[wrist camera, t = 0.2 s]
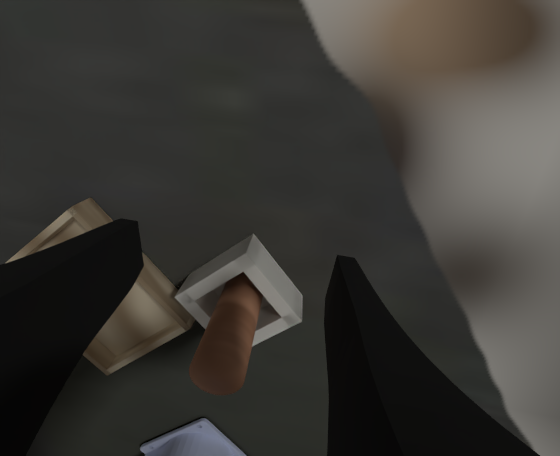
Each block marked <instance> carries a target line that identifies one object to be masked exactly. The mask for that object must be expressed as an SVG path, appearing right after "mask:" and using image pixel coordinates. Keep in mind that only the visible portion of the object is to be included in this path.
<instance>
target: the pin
mask: <svg viewBox="0 0 560 456" xmlns="http://www.w3.org/2000/svg"><path fill="white" fill-rule="evenodd" d="M262 298H263V294H262V293H261V292H260V291H259V290H258V289H257V287H256V286H255V285H254V284H253V283H252V281H251V280H250V279H249V278H248V277H247V275H246V274H245V273H244V272H242V273H240V274H239V275H237V276H235V277H233V278H232V279H230V280H228V281H227V282H226V284H225V286H224V288H223V291H222V293H221V295H220V298H219V300H218V302H217V305H216V307H215V309H214V311H213V314H212V316H211V318H210V321H209V323H208V325H207V328H206V330H205V332H204V335H203V337H202V339H201V341H200V344H199V346H198V348H197V351H196V353H195V355H194V358H193V360H192V362H191V365H190V367H189V375H190V378H191V380H192V381H193V383H194V384H195V385H196V386H197V387H199V388H200V389H202V390H203V391H205V392H208V393H211V394H215V395H228V394H232V393H234V392H236V391H238V390H239V389H240V388H241V387H242V386H243V384H244V380H245V376H246V371H247V366H248V362H249V357H250V353H251V348H252V344H253V339H254V335H255V330H256V326H257V321H258V316H259V312H260V307H261V303H262Z"/></svg>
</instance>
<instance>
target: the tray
mask: <svg viewBox="0 0 560 456" xmlns="http://www.w3.org/2000/svg"><path fill="white" fill-rule="evenodd" d="M112 221H113V220H112V219H111V218H110V217H109V216H108V215H107V214H106V213H105V212H104V211H103V210H102V209H101V207H100V206H99V205H98V204H97V203H96V202H95V201H94V200H93V199H92V198H89V199H86V200H84V201H82V202H80V203H78V204H76V205H74V206H72V207H70V208H69V209H68V210H67V211H66V212H65V213H63V214H62V215H61V216H60V217H59V218H58V219H56V220H55V221H54V222H53V223H52V224H51V225H49V226H48V227H47V228H46V229H45V230H44V231H42V232H41V233H40V234H39V235H38V236H36V237H35V238H34V239H33V240H32V241H31V242H29V243H28V244H27V245H26V246H25V247H24V248H22V249H21V250H20V251H19V252H18V253H17V254H15V255H14V256H13V257H12V258H11V259H10V260H8V261H7V262H6V263H8V262H11V261H14V260H17V259H20V258H22V257H25V256H28V255H30V254H33V253H36V252H38V251H41V250H43V249H46V248H49V247H51V246H54V245H56V244H59V243H61V242H64V241H66V240H69V239H71V238H73V237H76V236H78V235H81V234H83V233H85V232H88V231H90V230H92V229H95V228H97V227H100V226H102V225H105V224H107V223H110V222H112ZM142 255H143V262H144V267H143V269H142V271H141V273H140V274H139V276H138V278H137V280H136V282H135V283H134V285H133V287H132V288H131V290H130V291H129V293H128V294H127V295H126V297H125V298H124V299H123V301H122V302H121V303H120V305H119V306H118V307H117V309H116V310H115V311H114V313H113V314H112V315H111V317H110V318H109V319H108V321H107V322H106V323H105V324H104V326H103V327H102V328H101V330H100V331H99V332H98V334H97V335H96V336H95V338H94V339H93V340H92V342H91V343H90V344H89V346H88V347H87V349H86V350H85V352H84V353H83V356H85V357H86V358H87V359H88V360H89V361H90V362H92V363H93V364H94V365H95V366H96V367H97V368H99V369H100V370H101V371H102V372H103V373H104V374H106V375H109V374H111V373H113V372H114V371H116V370H118V369H120V368H121V367H123V366H125V365H127V364H129V363H130V362H132V361H134V360H136V359H137V358H139V357H141V356H143V355H145V354H146V353H148V352H150V351H152V350H153V349H155V348H157V347H159V346H161V345H162V344H164V343H166V342H168V341H170V340H171V339H173V338H175V337H177V336H178V335H180V334H182V333H184V332H186V331H187V330H189V329H191V327H192V325H193V323H194V321H195V318H194V317H193V316H192V315H191V314H190V313H189V312H188V311H187V310H186V309H185V308H184V307H183V306H182V305H181V304H180V302H179V301H178V300H177V299H176V298H175V295H176V294H177V292H178V291H179V290H178V289H177V288H176V287H175V286H174V285H173V284H172V283H171V282H170V281H169V279H168V278H167V277H166V276H165V275H164V274H163V273H162V272H161V271H160V270H159V269H158V268H157V267H156V266H155V265H154V264H153V263H152V261H151V260H150V259H149V258H148V257H147V256H146V255H145V254H144V253H143V252H142Z"/></svg>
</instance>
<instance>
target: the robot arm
mask: <svg viewBox="0 0 560 456" xmlns="http://www.w3.org/2000/svg"><path fill="white" fill-rule="evenodd" d="M143 267H144V262H143V255H142V248H141V241H140V235H139V228H138V221H133V220H127V219H118V220H115V221H112V222H110V223H107V224H105V225H102V226H100V227H97V228H95V229H92V230H90V231H88V232H85V233H83V234H81V235H78V236H76V237H73V238H71V239H69V240H66V241H64V242H61V243H59V244H56V245H54V246H51V247H49V248H46V249H43V250H41V251H38V252H36V253H33V254H30V255H28V256H25V257H22V258H20V259H17V260H14V261H11V262H8V263H5V264H2V265H0V456H26V454H27V452H28V450H29V448H30V446H31V444H32V442H33V440H34V438H35V436H36V434H37V433H38V431H39V429H40V427H41V425H42V423H43V421H44V419H45V418H46V416H47V414H48V412H49V410H50V408H51V407H52V405H53V403H54V401H55V400H56V398H57V396H58V395H59V393H60V391H61V389H62V388H63V386H64V384H65V382H66V381H67V379H68V377H69V376H70V374H71V373H72V371H73V369H74V368H75V366H76V364H77V363H78V361H79V360H80V358H81V356H82V355H83V353H84V352H85V350H86V349H87V347H88V346H89V344H90V343H91V342H92V340H93V339H94V338H95V336H96V335H97V334H98V332H99V331H100V330H101V328H102V327H103V326H104V324H105V323H106V322H107V321H108V319H109V318H110V317H111V315H112V314H113V313H114V311H115V310H116V309H117V307H118V306H119V305H120V303H121V302H122V301H123V299H124V298H125V297H126V295H127V294H128V293H129V291H130V290H131V288H132V287H133V285H134V283H135V282H136V280H137V278H138V276H139V274H140V273H141V271H142V269H143ZM324 328H325V343H326V357H327V371H328V385H329V418H328V451H327V456H540V455H538V454H537V453H536V452H535V451H533V450H532V449H531V448H530V447H528V446H527V445H526V444H524V443H523V442H522V441H521V440H519V439H518V438H517V437H515V436H514V435H513V434H512V433H510V432H509V431H508V430H507V429H505V428H504V427H503V426H501V425H500V424H499V423H498V422H496V421H495V420H494V419H493V418H492V417H491V416H489V415H488V414H487V413H486V412H485V411H484V410H482V409H481V408H480V407H479V406H478V405H477V404H475V403H474V402H473V401H472V400H471V399H470V398H469V397H467V396H466V395H465V394H464V393H463V392H462V391H461V390H460V389H459V388H458V387H457V386H455V385H454V384H453V383H452V382H451V381H450V380H449V379H448V378H447V377H446V376H445V375H444V374H443V373H442V372H441V371H440V370H439V369H438V368H437V367H436V366H435V365H434V364H433V363H432V362H431V361H430V360H429V359H428V358H427V357H426V356H425V355H424V354H423V352H422V351H421V350H420V349H419V348H418V347H417V346H416V345H415V343H414V342H413V341H412V340H411V339H410V338H409V337H408V335H407V334H406V333H405V332H404V331H403V329H402V328H401V327H400V326H399V324H398V323H397V322H396V320H395V319H394V318H393V316H392V315H391V314H390V312H389V311H388V310H387V308H386V307H385V305H384V304H383V302H382V301H381V299H380V298H379V296H378V295H377V293H376V292H375V290H374V289H373V287H372V286H371V284H370V282H369V281H368V279H367V277H366V276H365V274H364V272H363V271H362V269H361V267H360V266H359V264H358V262H357V261H356V259H355V258H352V257H346V256H340V255H337V258H336V261H335V265H334V269H333V272H332V276H331V279H330V283H329V287H328V290H327V294H326V297H325V316H324ZM140 450H141V451H142V452H143V453H144V454H145V456H247V455H246V454H244V453H243V452H242V451H241V450H240V449H239V448H238V447H237V446H236V445H235V444H234V443H232V442H231V441H230V440H229V439H228V438H227V437H226V436H225V435H224V434H223V433H222V432H220V431H219V430H218V429H217V428H216V427H215V426H214V425H213V424H212V423H211V422H210V421H208V420H207V419H205V418H201V419H199V420H197V421H194V422H192V423H190V424H188V425H185V426H183V427H181V428H178V429H176V430H174V431H172V432H169V433H167V434H165V435H162V436H160V437H158V438H156V439H153V440H151V441H149V442H146V443H144V444H142V446H141V448H140Z"/></svg>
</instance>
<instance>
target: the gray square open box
mask: <svg viewBox="0 0 560 456" xmlns="http://www.w3.org/2000/svg"><path fill="white" fill-rule="evenodd" d="M242 272H244V273H245V274H246V275H247V277H248V278H249V279H250V280H251V281H252V283H253V284H254V285H255V286H256V287H257V289H258V290H259V291H260V292H261V293H262V294H263V298H262V303H261V307H260V312H259V316H258V321H257V326H256V330H255V335H254V339H253V344H252V346H254V345H256V344H258V343H260V342H262V341H264V340H266V339H268V338H270V337H272V336H274V335H276V334H278V333H280V332H282V331H284V330H286V329H288V328H290V327H292V326H294V325H296V324H298V323H300V322H302V298H303V296H302V294H301V293H300V292H299V290H298V289H297V288H296V287H295V285H294V284H293V283H292V282H291V280H290V279H289V278H288V277H287V275H286V274H285V273H284V271H283V270H282V269H281V268H280V266H279V265H278V264H277V263H276V261H275V260H274V259H273V258H272V256H271V255H270V254H269V252H268V251H267V250H266V249H265V247H264V246H263V245H262V244H261V242H260V241H259V240H258V239H257V237H256V236H255V235H254V233H253V234H252V235H250V236H249V237H247V238H246V239H244V240H242V241H241V242H239V243H238V244H236V245H234V246H233V247H231V248H230V249H228V250H227V251H225V252H223V253H222V254H220V255H219V256H217V257H216V258H214V259H212V260H211V261H209V262H208V263H206V264H205V265H203V266H201V267H200V268H198V269H197V270H195V271H193V272H192V273H190V274H189V275H188V277H187V279H186V280H185V282H184V283H183V285H182V286H181V288H180V289H179V291H178V292H177V294H176V295H175V298H176V299H177V300H178V301H179V302H180V304H181V305H182V306H183V307H184V308H185V309H186V310H187V311H188V312H189V313H190V314H191V315H192V316H193V317H194V318H195V319H196V320H197V321H198V322H199V323H200V324H201V325H202V326H203V328H204V329H205V330H206V328H207V325H208V323H209V321H210V318H211V316H212V314H213V311H214V309H215V307H216V305H217V302H218V300H219V298H220V295H221V293H222V291H223V288H224V286H225V284H226V282H227V281H228V280H230V279H232V278H233V277H235V276H237V275H239V274H240V273H242Z"/></svg>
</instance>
